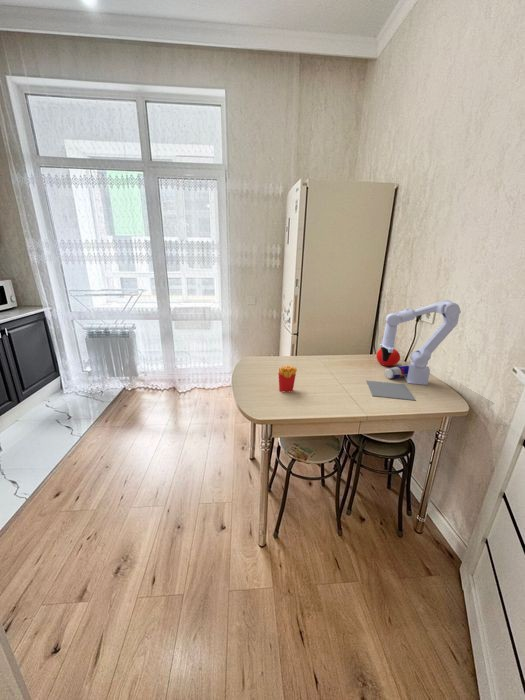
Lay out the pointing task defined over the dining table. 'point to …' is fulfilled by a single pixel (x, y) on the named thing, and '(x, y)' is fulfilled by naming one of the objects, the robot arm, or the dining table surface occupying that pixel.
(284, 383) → the french fries
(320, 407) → the dining table surface
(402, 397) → the mat
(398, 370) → the beverage can
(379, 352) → the tomato
